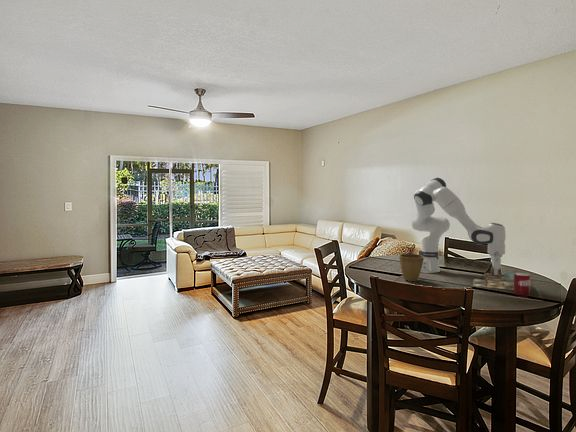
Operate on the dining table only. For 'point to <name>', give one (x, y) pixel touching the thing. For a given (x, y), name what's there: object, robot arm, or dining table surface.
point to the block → (493, 272)
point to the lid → (509, 276)
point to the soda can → (522, 284)
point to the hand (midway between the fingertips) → (495, 273)
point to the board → (494, 283)
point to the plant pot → (411, 266)
